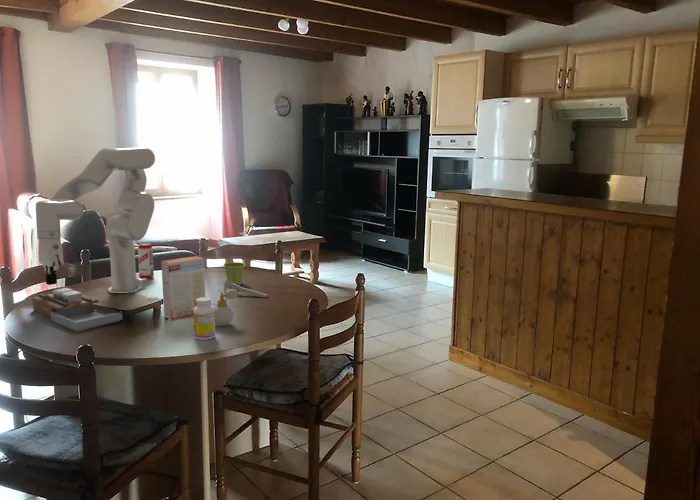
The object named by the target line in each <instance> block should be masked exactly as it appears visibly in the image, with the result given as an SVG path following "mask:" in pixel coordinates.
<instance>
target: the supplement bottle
mask: <svg viewBox="0 0 700 500" xmlns="http://www.w3.org/2000/svg"><path fill="white" fill-rule="evenodd" d="M196 304H197V306H196V307H195V308H194V309H193V316H192V317H193V337H194V339H195V338H196V340H197V339H198V341H209V340H211V339H213V338H215V336H216V324H215V311H214V308H215V307H214V306H213V305H212V298H211V297H208V296H205V297H201V298H197V299H196ZM208 339H209V340H208Z"/></svg>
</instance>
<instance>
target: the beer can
mask: <svg viewBox="0 0 700 500" xmlns="http://www.w3.org/2000/svg"><path fill="white" fill-rule="evenodd" d="M138 244H139V245H138V248H137V255H138V256H137V257H138V260H137V261H138V276H139V278H140V279H144V278H146V279H147V281H148V280H152V279H153V278H154V275H155V273H154V272H155V271H154V253H153V246H152V243H150V242H149V243H148V242H142V243H138Z"/></svg>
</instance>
